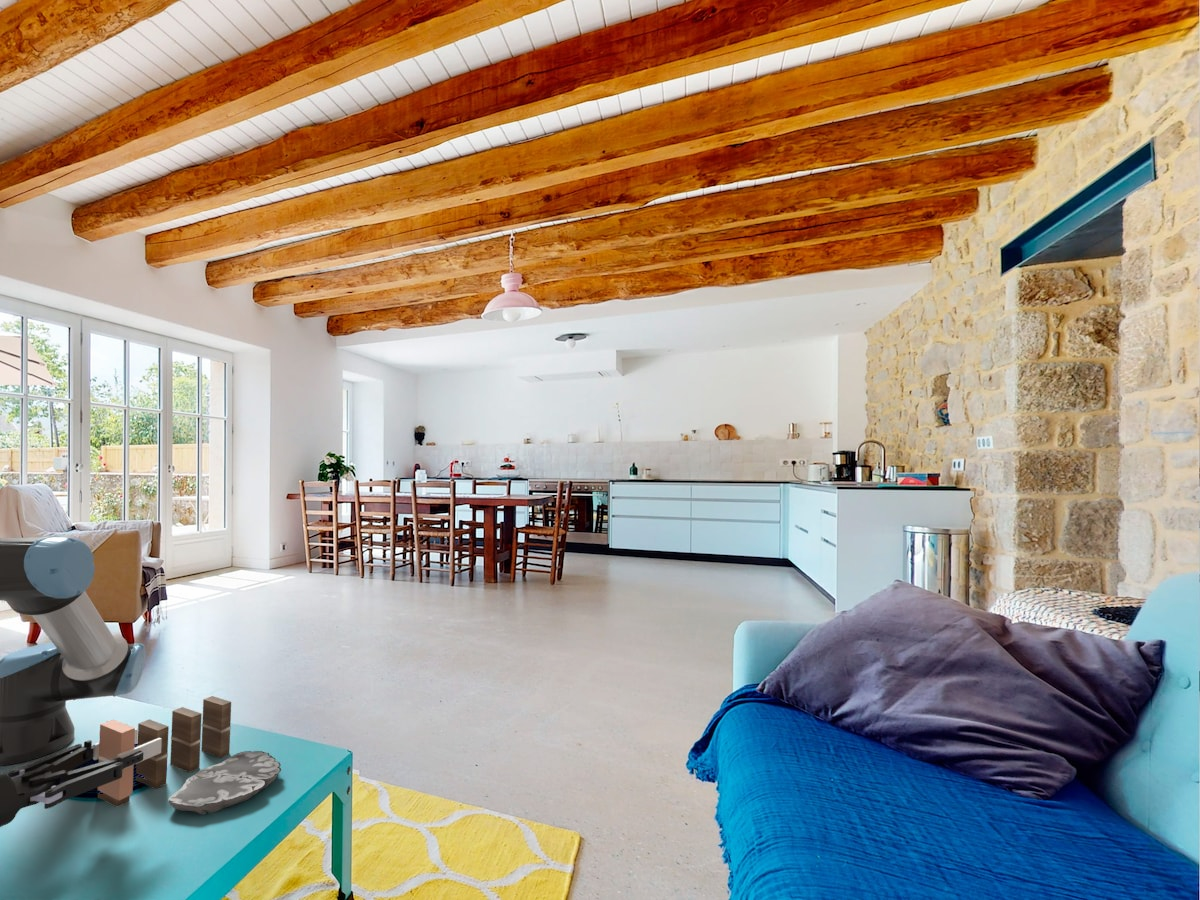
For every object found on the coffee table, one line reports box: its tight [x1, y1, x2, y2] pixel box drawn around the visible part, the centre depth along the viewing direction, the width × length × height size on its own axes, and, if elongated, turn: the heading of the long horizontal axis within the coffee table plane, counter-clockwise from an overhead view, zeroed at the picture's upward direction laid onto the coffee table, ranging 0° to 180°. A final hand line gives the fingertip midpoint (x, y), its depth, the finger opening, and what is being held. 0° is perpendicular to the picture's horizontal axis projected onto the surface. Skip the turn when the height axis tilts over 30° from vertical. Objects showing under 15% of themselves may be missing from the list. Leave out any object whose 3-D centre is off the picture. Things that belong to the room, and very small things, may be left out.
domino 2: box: [97, 789, 131, 808], centre depth 108 cm, size 2×7×12 cm, turn 67°
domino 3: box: [135, 719, 170, 790], centre depth 114 cm, size 2×7×12 cm, turn 67°
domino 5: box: [200, 695, 232, 759], centre depth 126 cm, size 2×7×12 cm, turn 67°
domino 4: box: [169, 706, 203, 773], centre depth 120 cm, size 2×7×12 cm, turn 67°
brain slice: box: [168, 750, 282, 815], centre depth 112 cm, size 20×17×3 cm
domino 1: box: [97, 719, 136, 800], centre depth 98 cm, size 2×7×12 cm, turn 67°
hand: (147, 740), depth 103 cm, fingers closed on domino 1, 7 cm apart
